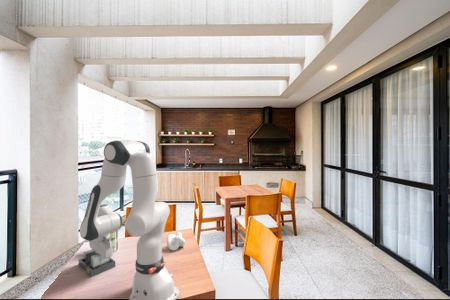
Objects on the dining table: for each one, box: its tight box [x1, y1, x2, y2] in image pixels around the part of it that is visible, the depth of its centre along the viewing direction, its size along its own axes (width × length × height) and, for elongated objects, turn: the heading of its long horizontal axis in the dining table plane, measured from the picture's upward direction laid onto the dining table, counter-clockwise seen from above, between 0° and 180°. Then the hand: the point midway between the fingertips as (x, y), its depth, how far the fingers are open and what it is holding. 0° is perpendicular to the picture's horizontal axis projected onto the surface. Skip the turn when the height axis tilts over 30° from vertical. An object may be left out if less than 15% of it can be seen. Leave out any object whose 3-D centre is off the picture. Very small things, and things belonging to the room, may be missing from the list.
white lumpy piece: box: [166, 231, 186, 251], centre depth 138 cm, size 11×12×9 cm
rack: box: [78, 248, 116, 278], centre depth 115 cm, size 18×12×7 cm
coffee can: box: [108, 230, 119, 254], centre depth 132 cm, size 10×10×14 cm
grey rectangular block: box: [91, 254, 111, 269], centre depth 112 cm, size 3×8×6 cm, turn 142°
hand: (100, 260), depth 112 cm, fingers closed on grey rectangular block, 3 cm apart
